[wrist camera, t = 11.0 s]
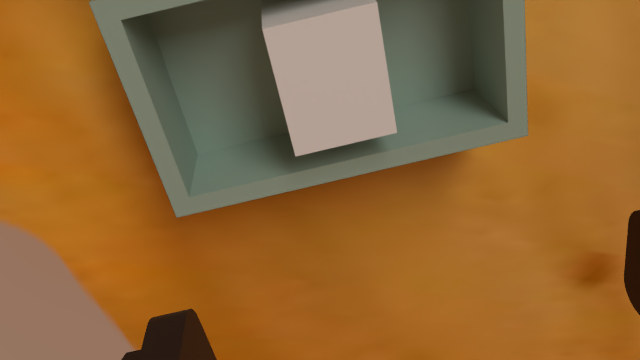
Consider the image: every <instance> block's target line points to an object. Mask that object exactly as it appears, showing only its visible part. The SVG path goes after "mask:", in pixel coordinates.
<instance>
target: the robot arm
mask: <svg viewBox="0 0 640 360" xmlns="http://www.w3.org/2000/svg"><path fill="white" fill-rule="evenodd" d="M624 283H625V288H626V291H627V294H628V297H629V299H630V301H631V303H632V305H633V307H634V308H635V310H636V311H637V312H638V314H639V315H640V210H638V211H634V212H633V213H632V214H631V216H630V218H629V223H628V235H627V247H626V258H625V270H624ZM122 360H217V359H216V357H215V355H214V352H213V350H212V348H211V346H210V343H209V341H208V339H207V336H206V334H205V332H204V329H203V327H202V325H201V323H200V320H199V318H198V316H197V314H196V312H195V311H194V310H193V309H188V310H184V311H179V312H175V313H170V314H166V315H161V316H157V317H153V318H151V319H150V320H149V322H148V325H147V329H146V333H145V337H144V341H143V345H142V349H141V350H137V351H133V352H128V353H126V354H125V355H124V357H123V358H122Z"/></svg>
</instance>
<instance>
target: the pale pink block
mask: <svg viewBox="0 0 640 360" xmlns="http://www.w3.org/2000/svg"><path fill="white" fill-rule="evenodd" d="M261 15H262V31H263V34H264V38H265V42H266V46H267V50H268V54H269V57H270V61H271V65H272V69H273V73H274V76H275V80H276V84H277V88H278V92H279V96H280V99H281V103H282V107H283V111H284V115H285V119H286V122H287V126H288V130H289V134H290V138H291V142H292V145H293V149H294V153H295V157H296V156H300V155H304V154H309V153H313V152H317V151H322V150H326V149H330V148H334V147H339V146H343V145H347V144H351V143H356V142H360V141H364V140H368V139H373V138H377V137H381V136H386V135H390V134H394V133H397V128H396V122H395V115H394V109H393V102H392V96H391V89H390V83H389V76H388V70H387V63H386V57H385V50H384V44H383V37H382V31H381V24H380V18H379V11H378V5H377V1H376V0H261Z"/></svg>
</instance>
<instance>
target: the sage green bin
mask: <svg viewBox="0 0 640 360" xmlns="http://www.w3.org/2000/svg"><path fill="white" fill-rule="evenodd" d="M376 1H377V5H378V11H379V18H380V24H381V31H382V37H383V44H384V50H385V57H386V63H387V70H388V76H389V83H390V89H391V96H392V102H393V109H394V115H395V122H396V128H397V133H394V134H390V135H386V136H381V137H377V138H373V139H368V140H364V141H360V142H356V143H351V144H347V145H343V146H339V147H334V148H330V149H326V150H322V151H317V152H313V153H309V154H304V155H300V156H296V157H295V153H294V149H293V145H292V142H291V138H290V134H289V130H288V126H287V122H286V119H285V115H284V111H283V107H282V103H281V99H280V96H279V92H278V88H277V84H276V80H275V76H274V73H273V69H272V65H271V61H270V57H269V54H268V50H267V46H266V42H265V38H264V34H263V31H262V15H261V0H91V1H90V2H89V4H90V6H91V9H92V11H93V14H94V16H95V19H96V21H97V24H98V26H99V28H100V31H101V33H102V36H103V38H104V41H105V43H106V46H107V48H108V50H109V53H110V55H111V58H112V60H113V63H114V65H115V68H116V70H117V73H118V75H119V77H120V80H121V82H122V85H123V87H124V90H125V92H126V95H127V97H128V100H129V102H130V104H131V107H132V109H133V112H134V114H135V117H136V119H137V122H138V124H139V126H140V129H141V131H142V134H143V136H144V139H145V141H146V144H147V146H148V149H149V151H150V153H151V156H152V158H153V161H154V163H155V166H156V168H157V171H158V173H159V176H160V178H161V180H162V183H163V185H164V188H165V190H166V193H167V195H168V198H169V200H170V202H171V205H172V207H173V210H174V212H175V215H176V217H177V218H178V217H182V216H186V215H190V214H195V213H199V212H203V211H208V210H212V209H216V208H220V207H225V206H229V205H233V204H238V203H242V202H246V201H250V200H255V199H259V198H263V197H267V196H272V195H276V194H280V193H285V192H289V191H293V190H297V189H302V188H306V187H310V186H315V185H319V184H323V183H327V182H332V181H336V180H340V179H344V178H349V177H353V176H357V175H362V174H366V173H370V172H374V171H379V170H383V169H387V168H392V167H396V166H400V165H404V164H409V163H413V162H417V161H421V160H426V159H430V158H434V157H439V156H443V155H447V154H451V153H456V152H460V151H464V150H469V149H473V148H477V147H481V146H486V145H490V144H494V143H498V142H503V141H507V140H511V139H516V138H520V137H524V136H528V120H527V80H526V39H525V0H376Z"/></svg>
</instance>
